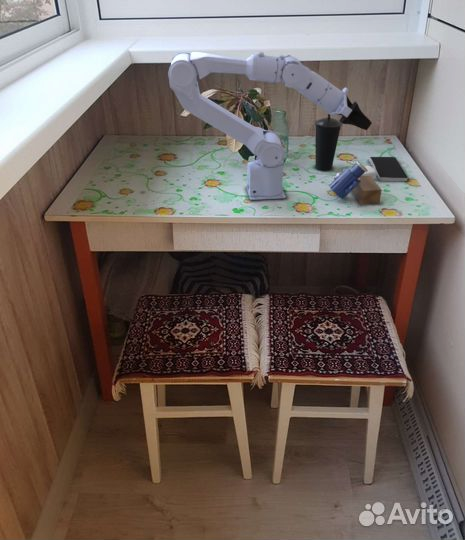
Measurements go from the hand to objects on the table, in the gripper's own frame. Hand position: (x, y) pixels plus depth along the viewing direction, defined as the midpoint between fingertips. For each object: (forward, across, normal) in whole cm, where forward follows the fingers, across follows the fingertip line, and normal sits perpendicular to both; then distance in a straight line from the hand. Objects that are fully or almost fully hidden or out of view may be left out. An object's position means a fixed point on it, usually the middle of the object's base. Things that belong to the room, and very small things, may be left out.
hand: (364, 122), depth 125 cm
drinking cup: (+6, +18, +18) cm, 26 cm away
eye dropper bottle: (+15, +10, +10) cm, 21 cm away
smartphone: (+21, +14, +8) cm, 27 cm away
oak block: (+12, -2, +15) cm, 19 cm away
